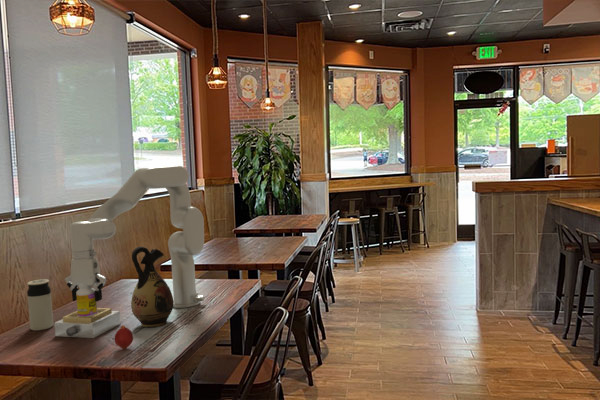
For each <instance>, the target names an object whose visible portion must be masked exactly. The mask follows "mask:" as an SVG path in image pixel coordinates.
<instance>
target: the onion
mask: <svg viewBox="0 0 600 400" xmlns="http://www.w3.org/2000/svg"><path fill="white" fill-rule="evenodd" d="M133 340H134V334H133V332H132V331H131V329H129V327H126V326H125V325H124V324H123V325H121V326H120V328H119V329H118V330H117V331H116V332H115V334H114V343H115V345H116V346H118V347H119V348H121V349H122V350H126V349H127V348H128V347H129V346H131V345H132V343H133Z"/></svg>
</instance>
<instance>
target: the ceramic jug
mask: <svg viewBox="0 0 600 400" xmlns="http://www.w3.org/2000/svg"><path fill="white" fill-rule="evenodd" d="M140 253H144V256H143V257H142V259H141V261H140V262H139V260H138V255H139V254H140ZM164 255H165V254H164V253H163V252H162V251H161V250H159V249H157V248H155V249H153V248H152V249H151V250H149V249H148V248H147V247H145V246H138V247H136V248H135V249H133V251H132V252H131V261H132V263H133V265H134V268H135V271H136V272H137V274H138V275H137V276H138V279H137V283H136V285H135V287H134V289H133V293H132V295H131V303H130V307H131V312H132V315H133V316H134V317H135V318H136V319H137V321H139V322H140V324H141V327H142V328H143V327H144V328H145V327H146V328H147V327H150V328H152V327H153V328H154V327H155V328H156V327H160V326H161V327H162V326H165V325H167V324H168V319H169V317H170V316H171V314H172V312H173V309H174V307H173V305H174V295H173V293H172V290H171V289H170V287H169V285H168V283H167V282H166V281H165V279H164V278H163V277H162V276H161V275H160V273H159V272H158V271H157V269H156V268H155V265H154V263H156V261H157V260H159V259H161V258H162V257H164ZM140 264H141V265H144V269H142V268H141V265H140Z"/></svg>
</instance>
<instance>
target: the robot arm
mask: <svg viewBox="0 0 600 400" xmlns="http://www.w3.org/2000/svg"><path fill="white" fill-rule="evenodd" d="M189 177H190V174H189V171H188V170H187V169H186V168H185V167H184V166H182V165H165V166H157V167H155V166H151V167H141V168H138V169H137V170H135V171H134V172H133V173H132V175H130V177H129V178H128V179H127V180H126V181H125V183H124V184H123V185H122V186H121V187H120V189H119V190H117V192H116V193H115V194H114V195H112V196H111V197H109V199H108V200H106V201H105V202H104V203H103V204H102V205H100V206H99V207H98V208H97V209H96V210H95V211H94V213H92V214H91V216H90V217H89V218H88V219H87V220H86V221H84V220H82V221H75V222H74V221H73V222H72V223H70V225H69V233H70V235H69V236H70V242H71V243H70V246H71V254H72V255H71V257H72V259H71V261H70V263H71V264H70V275H68V276H67V277H65V278H64V281H65V282H66V285H67V286H68V288H69V290H70V291H71V295H72V296H71V298H72V301H73V302H77V296H76V292H77V291H78V290H79V284H83V285H85V286H92V288H94V289H95V291H94V294H95V301H96V303H97V302H99V301H101V300H103V294H102V292H103V291H102V289H104V287H105V286H106V282H107V277H106V276H104V275H102V274H101V269H100V268H101V267H100V263H99V260H98V257H96V255H97V252H96V251H95V246H94V245H95V244H94V240H107V239H110V238H112V237H113V236H114V235H116V231H117V227H116V224H115V223H114V222H113V220H114V219H115V218H116V217H118V216H120V215H121V214H123V213H125V212H128V211H131V210H132V209H133V208H134V207H135V206H137V204H138V203H139V202H140V200H142V198H143V197H144V196H145V194H147V192H148V191H149V190H151V189H153V190H154V189H155V190H156V189H166V190H167V192H168V195H169V202H170V203H169V204H170V205H169V207H170V223H171V225H172V226H173V227H175V228H177V229H182V231H175V232H173V233H172V234H171V235H170V236H169V238H168V240H167V244H168V245H167V246H168V252H169V255H170V261H171V263H170V264H171V277H172V278H171V280H172V290H173V293H172V295H173V301H174V305H173V309H174V308H176V309H186V308H191V307H195V306H198V305H200V303H201V302H204V301H205V296H204V295H199V292H198V291H197V290H196V289H197V288H196V287H197V285H196V270H195V266H196V265H195V260H194V257H195V256H198V255H200V253H202V251H203V249H204V246H205V222H204V221H205V220H204V215H203V213H202V211H201V210H200V209H199V208H197V207H195V206H192V201H191V200H192V199H191V192H190V189H189V187H188V185H187V182H188V181H189Z"/></svg>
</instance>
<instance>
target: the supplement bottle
mask: <svg viewBox="0 0 600 400" xmlns="http://www.w3.org/2000/svg"><path fill="white" fill-rule="evenodd" d="M78 288H79V290H78V291H77V292H76V296H77V300H76V305H77V306H76V307H77V310H76V311H78V317H92V316H94V315H96V314H97V308H98V306H97V305H98V303H97V302H96V301H95V294H94V291H96V290H95V289H94V287H93V286H85V285H83V284H79V286H78Z"/></svg>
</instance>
